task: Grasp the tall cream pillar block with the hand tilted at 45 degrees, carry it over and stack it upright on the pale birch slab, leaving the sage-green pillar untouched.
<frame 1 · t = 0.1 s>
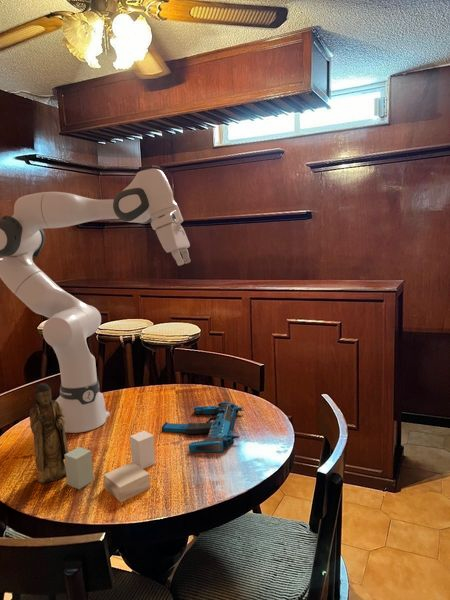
hand: (184, 263, 131), 52 cm above the table, tool tilted 20°, fingers open, 8 cm apart
cream pillar: (143, 463, 116), on the table
submachine gun: (203, 427, 138), on the table
sage pillar: (80, 482, 109), on the table
birch slab: (127, 489, 105), on the table
statue: (54, 478, 111), on the table
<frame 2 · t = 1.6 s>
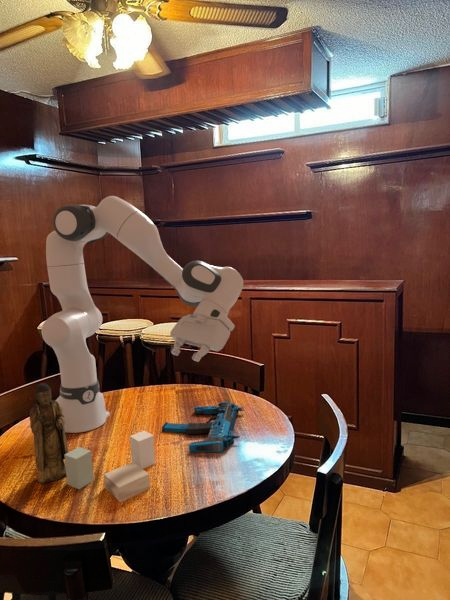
hand: (184, 357, 119), 27 cm above the table, tool tilted 45°, fingers open, 8 cm apart
nothing on the table moved.
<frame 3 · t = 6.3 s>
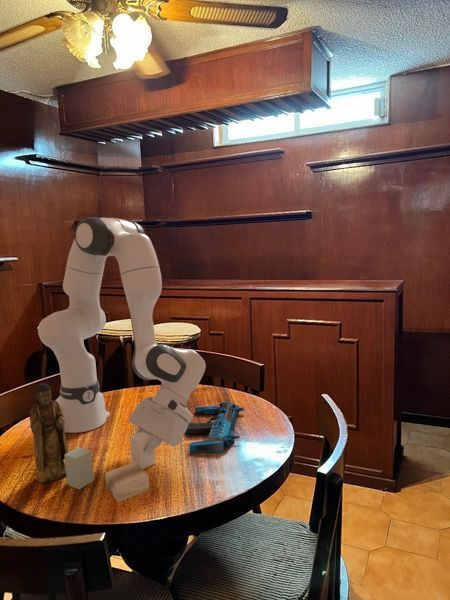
hand: (140, 449, 115), 4 cm above the table, tool tilted 45°, fingers closed on cream pillar, 4 cm apart
cream pillar: (143, 463, 116), on the table, touching gripper
everything else where it was.
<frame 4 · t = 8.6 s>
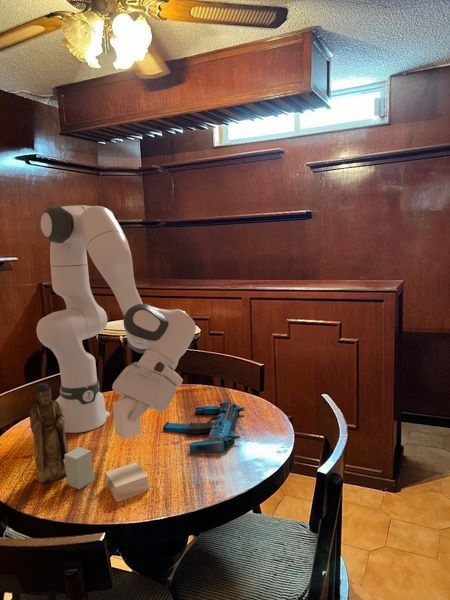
hand: (124, 417, 104), 18 cm above the table, tool tilted 45°, fingers closed on cream pillar, 4 cm apart
cream pillar: (128, 433, 105), point 13 cm above the table, touching gripper
everything else where it was.
when the fingers open (10 cm above the table, at t = 10.9 s): cream pillar drops 2 cm, resting on birch slab.
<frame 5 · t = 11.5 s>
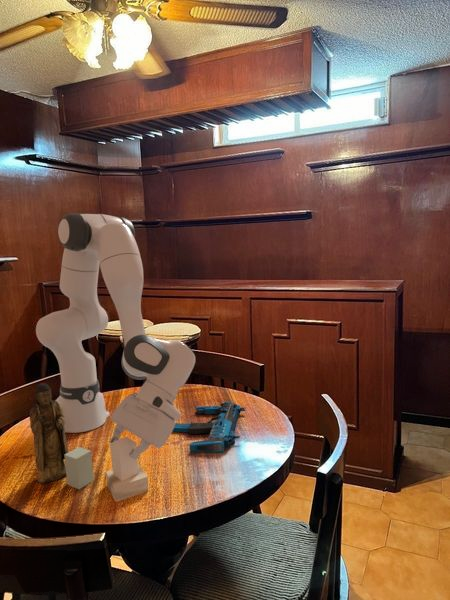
hand: (122, 451, 103), 10 cm above the table, tool tilted 45°, fingers open, 8 cm apart
cream pillar: (125, 473, 105), point 4 cm above the table, touching birch slab
birch slab: (127, 489, 105), on the table, touching cream pillar
everything else where it was.
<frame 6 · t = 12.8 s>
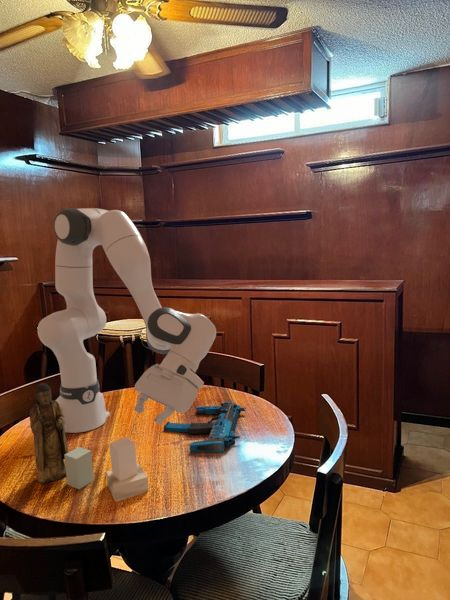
hand: (146, 417, 108), 16 cm above the table, tool tilted 45°, fingers open, 8 cm apart
nothing on the table moved.
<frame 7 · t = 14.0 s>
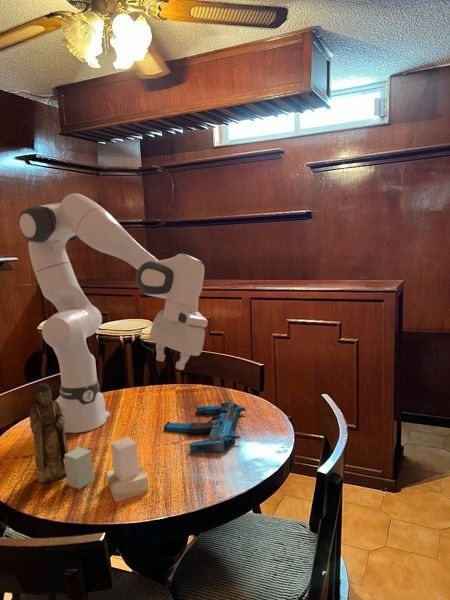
hand: (169, 364, 116), 26 cm above the table, tool tilted 15°, fingers open, 8 cm apart
nothing on the table moved.
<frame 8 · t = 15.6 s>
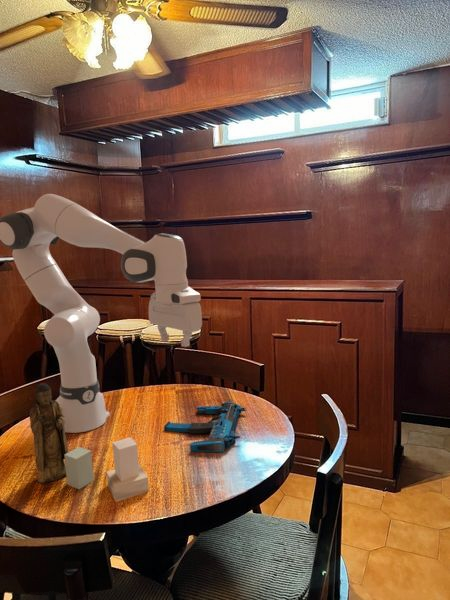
hand: (175, 343, 119), 31 cm above the table, tool pointing down, fingers open, 8 cm apart
nothing on the table moved.
at the end: cream pillar 0.1 cm off-centre on the birch slab, point 4.0 cm above the birch slab's base; cream pillar tilted 0°; the gripper is holding nothing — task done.
